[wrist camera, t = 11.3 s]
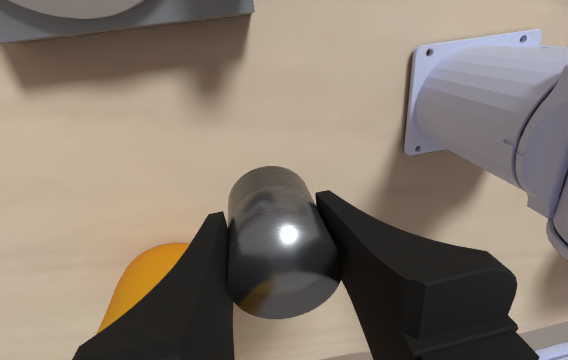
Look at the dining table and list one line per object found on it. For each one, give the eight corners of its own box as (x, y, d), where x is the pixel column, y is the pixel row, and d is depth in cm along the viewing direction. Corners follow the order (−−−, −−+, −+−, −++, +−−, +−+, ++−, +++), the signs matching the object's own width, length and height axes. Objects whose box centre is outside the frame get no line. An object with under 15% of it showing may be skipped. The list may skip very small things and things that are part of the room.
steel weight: (303, 157, 13) (339, 219, 9) (312, 225, 15) (346, 303, 11) (218, 176, 13) (213, 249, 9) (238, 242, 15) (243, 330, 11)
